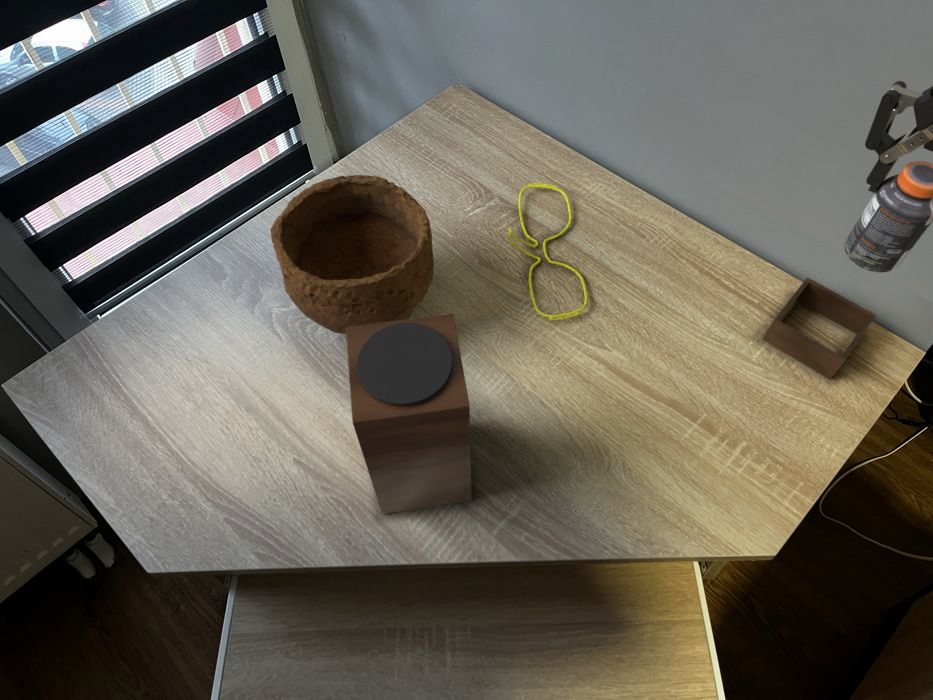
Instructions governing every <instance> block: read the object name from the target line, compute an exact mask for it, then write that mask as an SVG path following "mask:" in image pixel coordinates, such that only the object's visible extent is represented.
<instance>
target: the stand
mask: <svg viewBox="0 0 933 700" xmlns="http://www.w3.org/2000/svg"><path fill="white" fill-rule="evenodd" d="M399 323H416V324H421V325H424V326H427V327H429V328H431V329H433V330H435V331H436V332H438V333H439V334H440V335H441V336H442V337H443V338H444V339H445V340H446V342H447V343H448V345H449V347H450V350H451V353H452V360H453V367H452V373H451V376H450V378H449V380H448V382H447V384H446V385H445V387H444V388H443V389H442V390H441V391H440V392H439V393H438V394H437V395H436V396H434V397H433V398H431V399H430V400H428V401H425V402H423V403H420V404H417V405H413V406H393V405H388V404H385V403H383V402H380V401H378V400H377V399H375V398H373V397H372V396H371V395H370V394H369V393H368V392H367V391H366V390H365V389H364V387H363V386H362V384H361V382H360V379H359V376H358V371H357V360H358V356H359V353H360V350H361V348H362V347H363V345H364V344H365V342H366V341H367V340H368V339H369V338H370V337H371V336H372V335H373V334H375V333H376V332H377V331H379V330H381V329H383V328H385V327H387V326H390V325H394V324H399ZM345 337H346V353H347V365H348V378H349V379H348V380H349V395H350V408H351V422H352V426H353V429H354V433H355V435H356V438H357V441H358V444H359V447H360V450H361V452H362V456H363V459H364V462H365V465H366V468H367V472H368V474H369V478H370V481H371V484H372V487H373V491H374V493H375V496H376V499H377V502H378V506H379V508H380V511H381V515H388V514H396V513H402V512H408V511H415V510H421V509H429V508H435V507H439V506H441V507H442V506H447V505H453V504H454V505H455V504H460V503H466V502H467V503H468V502H472V501H473V499H472V498H473V497H472V453H471V452H472V451H471V448H472V447H471V446H472V445H471V406H470V405H471V404H470V400H469V394H468V388H467V382H466V376H465V372H464V371H465V370H464V366H463V361H462V355H461V354H462V353H461V349H460V343H459V339H458V333H457V327H456V320H455V315H454V313H453V312H451V313H443V314H435V315H428V316H421V317H414V318H407V319H405V320H397V321H389V322H382V323H374V324H367V325H359V326H351V327H346V334H345Z"/></svg>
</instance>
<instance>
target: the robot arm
mask: <svg viewBox="0 0 933 700" xmlns="http://www.w3.org/2000/svg"><path fill="white" fill-rule="evenodd" d="M907 87H908V85H907V83H906V82H905V81H903V80H897V81H895V82H894V83H893V84H891V86H890V87H889V88H888V90H887V91H886V92H885V93H883V95H882V96H881V99H880V102H879V104H878V107H877V110H876V113H875V115H874V118H873V121H872V123H871V126H870V129H869V131H868V135H867V137H866V140H865V142H864V146H865V148H866V149H867V150H869V151H874V152H875V153H876V154H877V156H878V159H877V161H876V163H875V164H874V166H873V167H872V169H871V171H870V172H869V173H868V176H867V178H866V182H865V183H866V184H867V185H869V188H868V189H867V190H868V192H871V193H872V194H875V193H876V191H877V190H878V188H879V186H880V185H881V184H882V182H883V181H884V180H886V179H887V178H888V175H889V174H890V172H891V171H892V169H893V168H894V166H895V165H896V163H897V162H898V160H899V158H901V157H903V156H905V155H909V154H911V153H913V152H914V151H915V150H917V149H920V148H921V147H922V148H923V149H925V150H926V151H930V152H931V153H932V152H933V84H932V85H931V86H930V87H929V88H927V89H925V90H923V91H922V92H921V91H917V90H913V89H908V88H907ZM909 107H913V113H914V119H915V124H914V125H913V126H912V127H911V128H909V129H908V130H906V132H904V133H902V134H901V135H899V136H898V137H896V138H894V137H893V136H892V135H890V134H889V133H890V131H891V129H892V127H893V124H894V121H895V119H896V117H897V115H900V114H902V113H904V111H906V109H907V108H909Z"/></svg>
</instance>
